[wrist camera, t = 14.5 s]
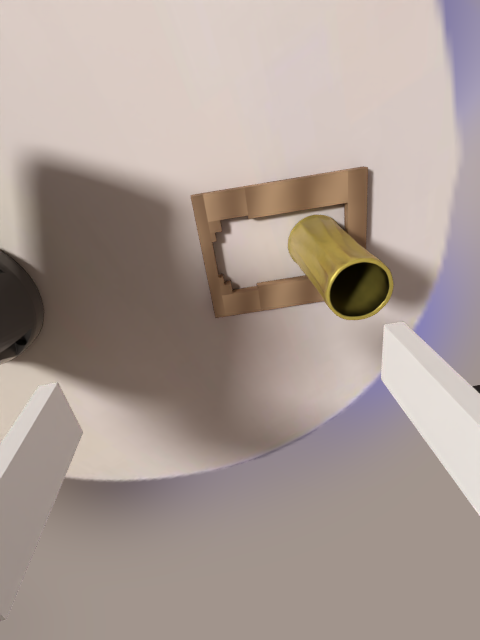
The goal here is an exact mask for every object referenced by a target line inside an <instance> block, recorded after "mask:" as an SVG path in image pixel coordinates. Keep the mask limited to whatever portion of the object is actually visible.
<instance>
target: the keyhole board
mask: <svg viewBox="0 0 480 640" xmlns="http://www.w3.org/2000/svg"><path fill="white" fill-rule="evenodd" d="M367 184H368V167H358V168H352V169H346V170H340V171H334V172H328V173H322V174H316V175H309V176H303V177H297V178H291V179H285V180H279V181H273V182H267V183H261V184H255V185H249V186H243V187H237V188H231V189H225V190H219V191H213V192H207V193H201V194H195V195H191V201H192V206H193V210H194V215H195V220H196V225H197V230H198V235H199V240H200V245H201V249H202V254H203V259H204V264H205V269H206V274H207V279H208V284H209V288H210V293H211V298H212V303H213V308H214V313H215V318H219V317H225V316H232V315H238V314H244V313H251V312H257V311H263V310H270V309H276V308H282V307H288V306H295V305H301V304H307V303H314V302H320V301H324V299H323V298H322V296H321V295H320V293H319V292H318V290H317V289H316V288H315V286H314V285H313V283H312V282H311V281H310V280H309V278H308V277H307V275H305V276H299V277H293V278H286V279H280V280H274V281H268V282H261V283H257V286H254V287H247V288H241V289H235V290H232V286H231V281H225V282H224V277H223V274H220V275H219V274H218V268H217V263H216V258H215V253H214V247H213V242H216V232H222V228H221V222H220V220H224V219H230V218H236V217H242V216H248V219H251V218H257V217H263V216H269V215H275V214H281V213H288V212H294V211H300V210H306V209H312V208H318V207H324V206H330V205H336V204H343V203H344V215H345V232H346V233H347V234H349V235H350V236H351V237H352V238H353V239H354V240H355V241H356V242H357V243H358V244H359V245H360V246H362V247H363V248H365V249H366V229H367Z"/></svg>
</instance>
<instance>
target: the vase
mask: <svg viewBox="0 0 480 640" xmlns="http://www.w3.org/2000/svg"><path fill="white" fill-rule="evenodd" d="M288 250H289V253H290V255H291V257H292V259H293V260H294V261H295V262H296V263H297V264H298V265H299V267H300V268H301V269H302V271H303V272H304V273H305V274H306V275H307V277H308V278H309V280H310V281H311V282H312V283H313V285H314V286H315V288H316V289H317V290H318V292H319V293H320V295H321V296H322V298H323V299H324V301H325V303H326V304H327V305H328V307H329V308H330V309H331V310H332V311H333V312H334V313H335V314H336V315H337V316H339V317H340V318H343V319H346V320H361V319H365V318H368V317H371V316H373V315H375V314H376V313H378V312H379V311H380V310H381V309H382V308H383V307H384V306H385V305H386V304H387V303H388V301H389V299H390V297H391V295H392V292H393V278H392V274H391V272H390V270H389V268H387V267H386V266H385V265H384V264H383V263H382V262H381V261H380V260H379V259H378V258H376V257H375V256H373V255H372V254H371V253H370V252H368V251H367V250H366V249H365V248H363V247H362V246H360V245H359V244H358V243H357V242H356V241H355V240H354V239H353V238H352V237H351V236H350V235H349V234H347V233H346V232H345V231H344V230H343V229H342V228H340V227H339V225H338V224H337V223H336V222H335V221H334V220H333V219H332V218H330V217H328V216H325V215H311V216H308V217H306V218H304V219H302V220H301V221H299V222H298V223H297V224H296V225H295V227H294V228H293V229H292V231H291V233H290V236H289V239H288Z"/></svg>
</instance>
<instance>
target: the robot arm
mask: <svg viewBox="0 0 480 640" xmlns="http://www.w3.org/2000/svg"><path fill="white" fill-rule="evenodd" d="M43 317H44V312H43V304H42V300H41V297H40V294H39V292H38V290H37V288H36V286H35V284H34V282H33V281H32V279H31V278H30V277H29V275H28V274H27V273H26V272H25V270H24V269H23V268H22V267H21V266H20V265H19V264H18V263H17V262H15V261H14V260H13V259H12V258H10V257H9V256H8V255H6V254H5V253H3V252H2V251H0V365H1V364H3V363H5V362H7V361H10V360H12V359H14V358H15V357H17V356H18V355H20V354H21V353H22V352H24V351H25V350H26V349H27V347H28V346H29V345H30V344H31V343H32V342H33V341H34V340H35V339H36V337H37V336H38V334H39V332H40V330H41V327H42V324H43ZM381 380H382V381H383V383H384V384H385V385H386V387H387V388H388V390H389V391H390V392H391V394H392V395H393V397H394V398H395V399H396V401H397V402H398V403H399V405H400V406H401V408H402V409H403V410H404V412H405V413H406V415H407V416H408V417H409V419H410V420H411V421H412V423H413V424H414V425H415V427H416V428H417V430H418V431H419V432H420V434H421V435H422V436H423V438H424V440H425V441H426V442H427V444H428V445H429V446H430V448H431V449H432V451H433V452H434V453H435V455H436V456H437V457H438V459H439V460H440V462H441V463H442V464H443V465H444V467H445V469H446V470H447V471H448V473H449V474H450V475H451V477H452V478H453V480H454V481H455V482H456V484H457V485H458V487H459V488H460V489H461V491H462V492H463V493H464V495H465V496H466V497H467V499H468V500H469V502H470V503H471V505H472V506H473V507H474V509H475V510H476V511H477V513H478V514H479V516H480V385H477V386H471V385H470V384H469V383H468V382H467V381H466V380H465V379H464V378H463V377H461V376H460V375H459V374H458V373H457V372H456V371H455V370H454V369H453V368H452V367H451V366H450V365H449V364H448V363H447V362H445V361H444V360H443V359H442V358H441V357H440V356H439V355H438V354H437V353H436V352H435V351H434V350H432V348H431V347H430V346H428V345H427V344H426V343H425V342H424V341H423V340H422V339H421V338H420V337H419V336H418V335H417V334H416V333H415V332H414V331H413V330H411V329H410V328H409V327H408V326H407V325H406V324H405V323H404V322H403V321H402V322H396V323H391V324H385V325H384V333H383V351H382V370H381ZM82 434H83V431H82V429H81V427H80V425H79V423H78V421H77V419H76V417H75V415H74V413H73V411H72V409H71V407H70V405H69V403H68V401H67V399H66V397H65V395H64V393H63V391H62V389H61V388H60V386H59V384H58V382H57V383H51V384H45V385H40V386H38V387H37V389H36V390H35V392H34V393H33V395H32V396H31V398H30V399H29V401H28V403H27V404H26V406H25V407H24V409H23V410H22V412H21V413H20V415H19V416H18V418H17V419H16V421H15V422H14V424H13V425H12V427H11V428H10V430H9V431H8V433H7V434H6V436H5V437H4V439H3V440H2V442H1V443H0V621H3V620H6V619H7V617H8V614H9V612H10V610H11V607H12V604H13V602H14V600H15V597H16V595H17V592H18V590H19V587H20V585H21V583H22V580H23V578H24V575H25V573H26V570H27V568H28V566H29V563H30V560H31V558H32V556H33V553H34V551H35V549H36V546H37V543H38V541H39V539H40V536H41V534H42V531H43V529H44V526H45V524H46V522H47V519H48V517H49V514H50V512H51V509H52V507H53V504H54V502H55V500H56V497H57V495H58V492H59V490H60V487H61V485H62V483H63V480H64V478H65V475H66V473H67V470H68V468H69V465H70V463H71V461H72V458H73V456H74V453H75V451H76V448H77V446H78V443H79V441H80V439H81V436H82Z"/></svg>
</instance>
